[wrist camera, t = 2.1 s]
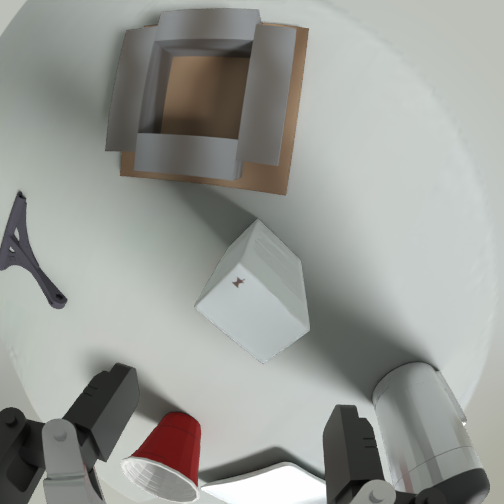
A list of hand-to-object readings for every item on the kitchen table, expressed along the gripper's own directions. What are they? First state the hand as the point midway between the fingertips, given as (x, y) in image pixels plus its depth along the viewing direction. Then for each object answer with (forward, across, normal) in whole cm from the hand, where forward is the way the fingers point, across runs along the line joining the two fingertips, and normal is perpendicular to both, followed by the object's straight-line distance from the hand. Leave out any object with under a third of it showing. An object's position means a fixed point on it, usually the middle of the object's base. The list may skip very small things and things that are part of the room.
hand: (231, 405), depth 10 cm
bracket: (+20, +31, +7) cm, 37 cm away
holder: (+19, +7, -14) cm, 24 cm away
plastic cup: (+19, +8, +28) cm, 35 cm away
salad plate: (+19, -10, +45) cm, 50 cm away
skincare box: (+19, 0, 0) cm, 19 cm away
